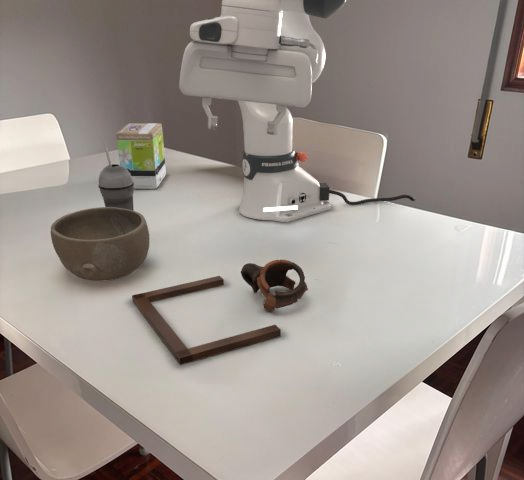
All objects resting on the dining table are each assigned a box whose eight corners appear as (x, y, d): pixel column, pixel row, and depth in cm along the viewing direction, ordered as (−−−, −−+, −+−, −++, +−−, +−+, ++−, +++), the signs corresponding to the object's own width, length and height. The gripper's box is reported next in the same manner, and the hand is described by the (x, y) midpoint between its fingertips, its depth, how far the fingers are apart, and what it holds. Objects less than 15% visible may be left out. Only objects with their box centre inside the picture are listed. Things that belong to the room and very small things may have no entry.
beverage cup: (133, 244, 119) (119, 146, 109) (101, 242, 121) (84, 145, 110) (145, 232, 125) (134, 138, 115) (115, 230, 127) (101, 137, 116)
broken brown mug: (310, 291, 100) (317, 264, 93) (291, 333, 96) (297, 308, 89) (248, 268, 102) (250, 239, 95) (227, 309, 98) (228, 281, 90)
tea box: (158, 189, 154) (152, 132, 146) (122, 189, 154) (113, 132, 146) (167, 174, 166) (162, 121, 158) (133, 175, 166) (126, 121, 159)
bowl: (108, 299, 98) (98, 245, 92) (39, 277, 106) (27, 226, 100) (172, 265, 110) (167, 215, 105) (106, 247, 118) (98, 200, 113)
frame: (219, 281, 103) (219, 275, 103) (280, 336, 87) (280, 329, 86) (132, 301, 97) (131, 295, 96) (180, 365, 80) (179, 358, 79)
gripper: (315, 39, 87) (303, 133, 94) (181, 23, 84) (179, 121, 91) (323, 41, 81) (309, 141, 88) (180, 25, 79) (177, 129, 86)
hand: (242, 131), depth 90 cm, fingers open, 8 cm apart
